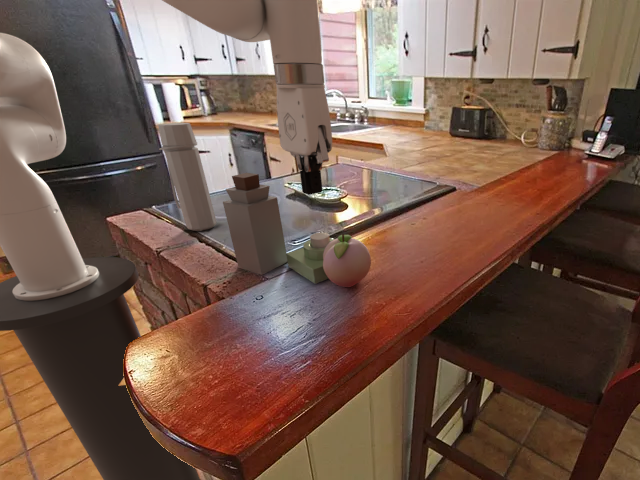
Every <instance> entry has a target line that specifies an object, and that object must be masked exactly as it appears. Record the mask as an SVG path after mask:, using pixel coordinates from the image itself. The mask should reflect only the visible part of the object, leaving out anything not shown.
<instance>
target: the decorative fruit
mask: <svg viewBox="0 0 640 480" xmlns="http://www.w3.org/2000/svg"><path fill="white" fill-rule="evenodd" d="M334 239H335V240H333V241H331V242H330V243H329V244H328V245H327V246H326V248H325V250H324V253H323V260H324V261H323V269H324V271H325V273H326V275H327V277H328V278H329V279H328V280H330V281H331V282H332V283H334V284H335V285H337V286H339V287H342V288H350V287H353V286H355V285H357V284H359V283H360V282H361V281H362V280H364V278H366V276H367V275H368V273H369V272H370V270H371V266H372V257H371V254H370V250H369V249H368V247H367V246H366V245H365V244H364V242H362V241H360V240H359V239H356V238H353V237H352V236H351V235H350V234H344V233H342V234H341V235H338V237H337V238H334Z"/></svg>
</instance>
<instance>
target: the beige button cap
mask: <svg viewBox="0 0 640 480" xmlns="http://www.w3.org/2000/svg"><path fill="white" fill-rule="evenodd" d="M330 238H331V237H330V234H329V233H328V232H316V233H313V234H310V236H309V240H311V247H312V248H325V247H326V246H327V245H328V244H329V243H330Z"/></svg>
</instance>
